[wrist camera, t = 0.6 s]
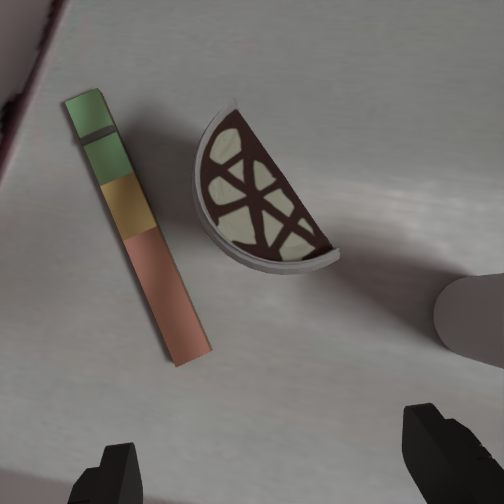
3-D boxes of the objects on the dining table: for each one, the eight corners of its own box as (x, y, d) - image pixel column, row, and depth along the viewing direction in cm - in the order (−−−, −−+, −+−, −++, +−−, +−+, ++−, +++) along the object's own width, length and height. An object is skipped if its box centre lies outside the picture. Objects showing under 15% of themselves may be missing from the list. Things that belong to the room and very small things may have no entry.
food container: (180, 186, 36) (147, 145, 27) (240, 146, 37) (230, 91, 27) (260, 308, 35) (258, 313, 25) (323, 267, 35) (345, 256, 25)
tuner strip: (102, 93, 38) (95, 85, 36) (212, 349, 35) (209, 352, 34) (70, 107, 38) (62, 100, 36) (178, 365, 35) (174, 368, 33)
